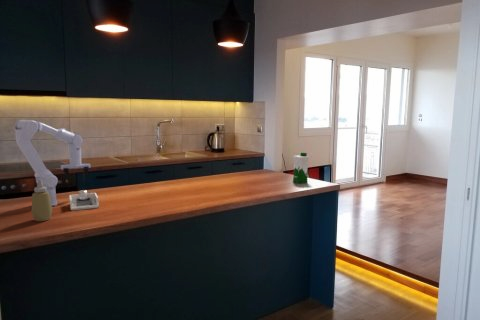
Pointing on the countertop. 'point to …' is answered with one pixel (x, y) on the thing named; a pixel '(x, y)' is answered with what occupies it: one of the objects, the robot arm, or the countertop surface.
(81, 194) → the steel plug
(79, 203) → the inlet socket
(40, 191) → the squeeze bottle
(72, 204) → the walled box
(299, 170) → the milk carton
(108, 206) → the countertop surface
